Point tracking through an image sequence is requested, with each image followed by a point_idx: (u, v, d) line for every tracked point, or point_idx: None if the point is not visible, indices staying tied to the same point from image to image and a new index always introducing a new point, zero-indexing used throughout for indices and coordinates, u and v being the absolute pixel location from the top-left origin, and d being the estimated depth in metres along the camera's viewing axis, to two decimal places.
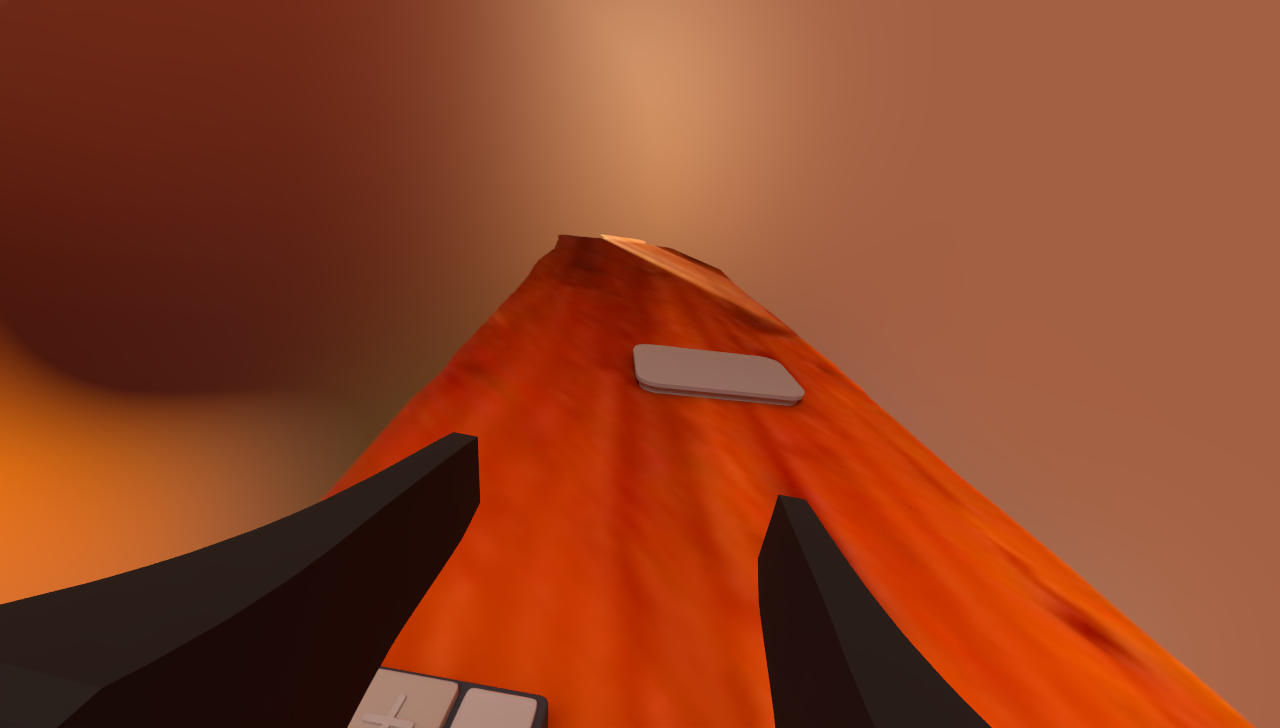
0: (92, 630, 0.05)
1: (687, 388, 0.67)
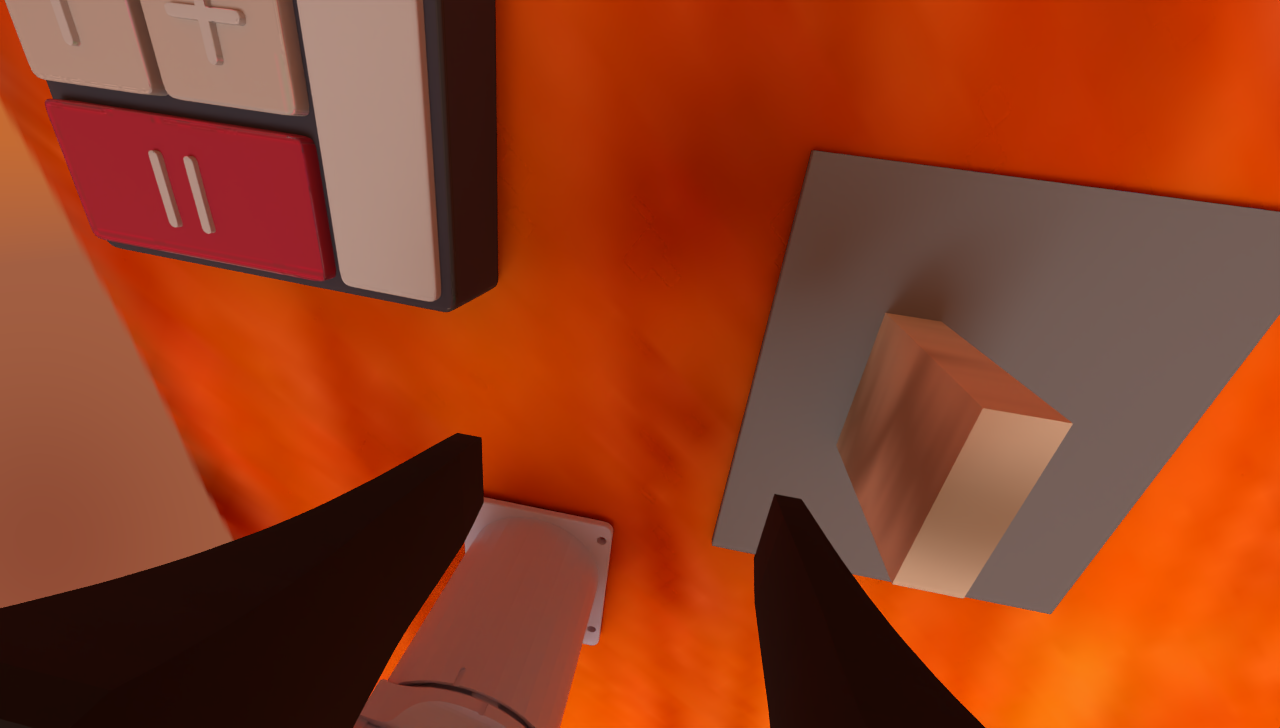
0: (97, 633, 0.05)
1: None
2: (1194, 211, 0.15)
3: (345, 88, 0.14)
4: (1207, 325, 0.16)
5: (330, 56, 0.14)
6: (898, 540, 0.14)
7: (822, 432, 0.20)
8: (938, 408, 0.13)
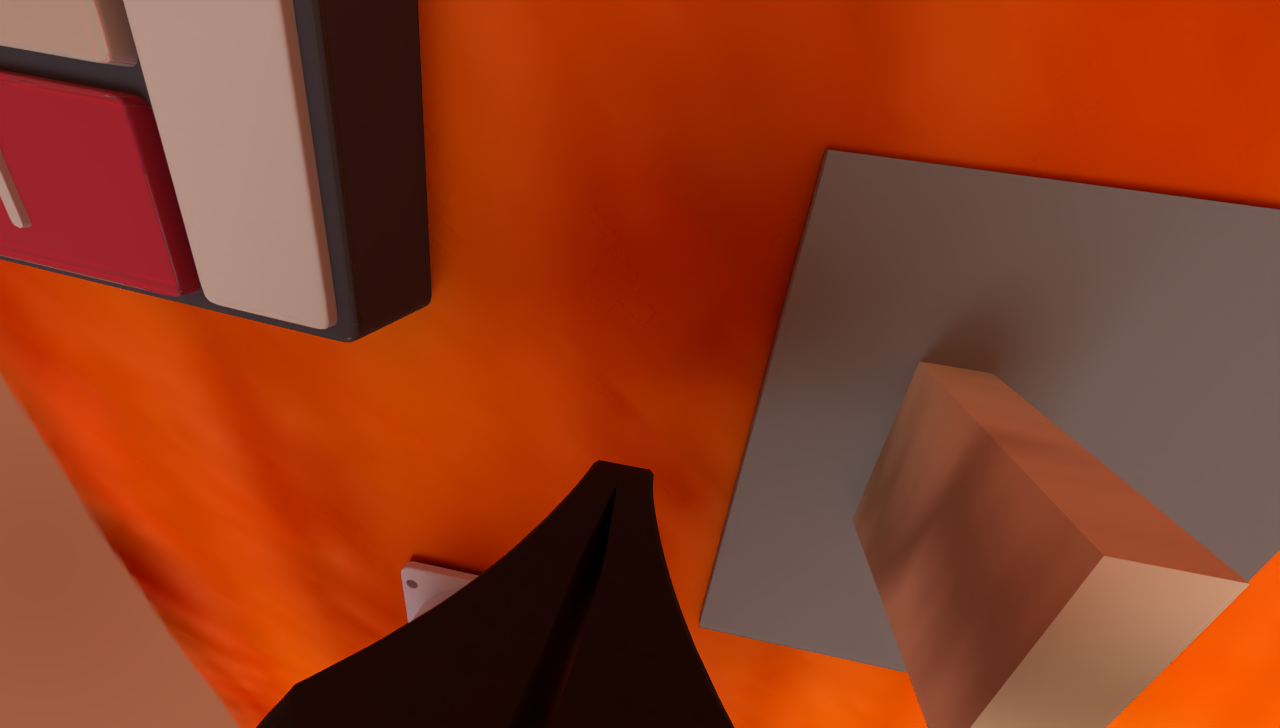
0: (413, 708, 0.04)
1: None
2: None
3: (176, 24, 0.09)
4: None
5: None
6: (950, 701, 0.10)
7: (834, 503, 0.16)
8: (1013, 525, 0.09)
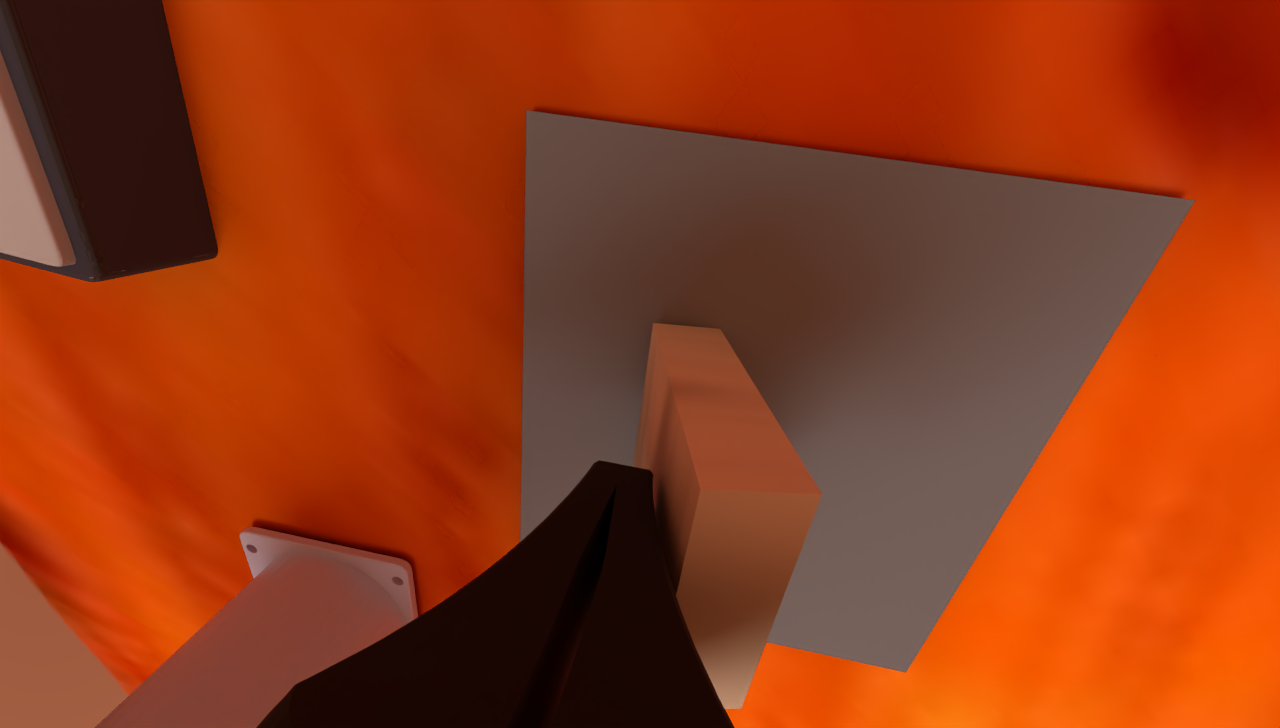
0: (413, 708, 0.04)
1: None
2: (999, 188, 0.11)
3: None
4: (1035, 335, 0.12)
5: None
6: None
7: (611, 461, 0.16)
8: (676, 470, 0.09)
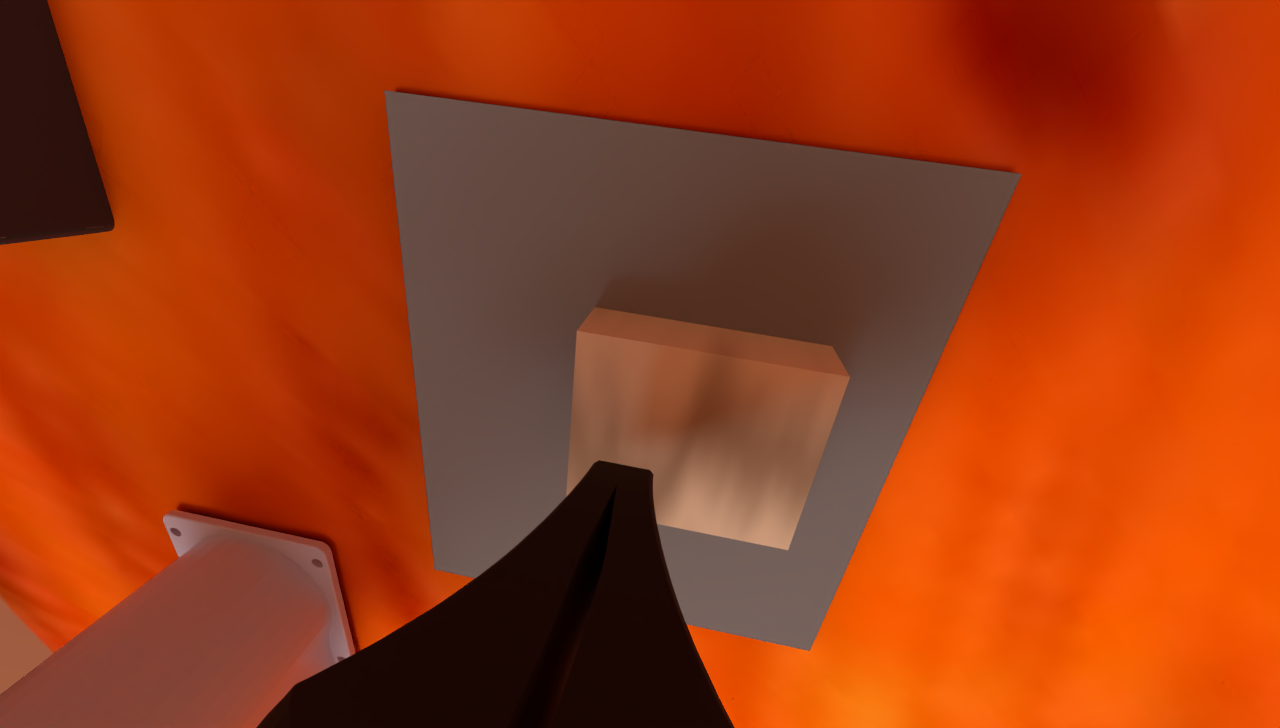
0: (412, 709, 0.04)
1: None
2: (837, 164, 0.11)
3: None
4: (889, 310, 0.13)
5: None
6: (776, 519, 0.14)
7: (506, 440, 0.17)
8: (776, 398, 0.12)
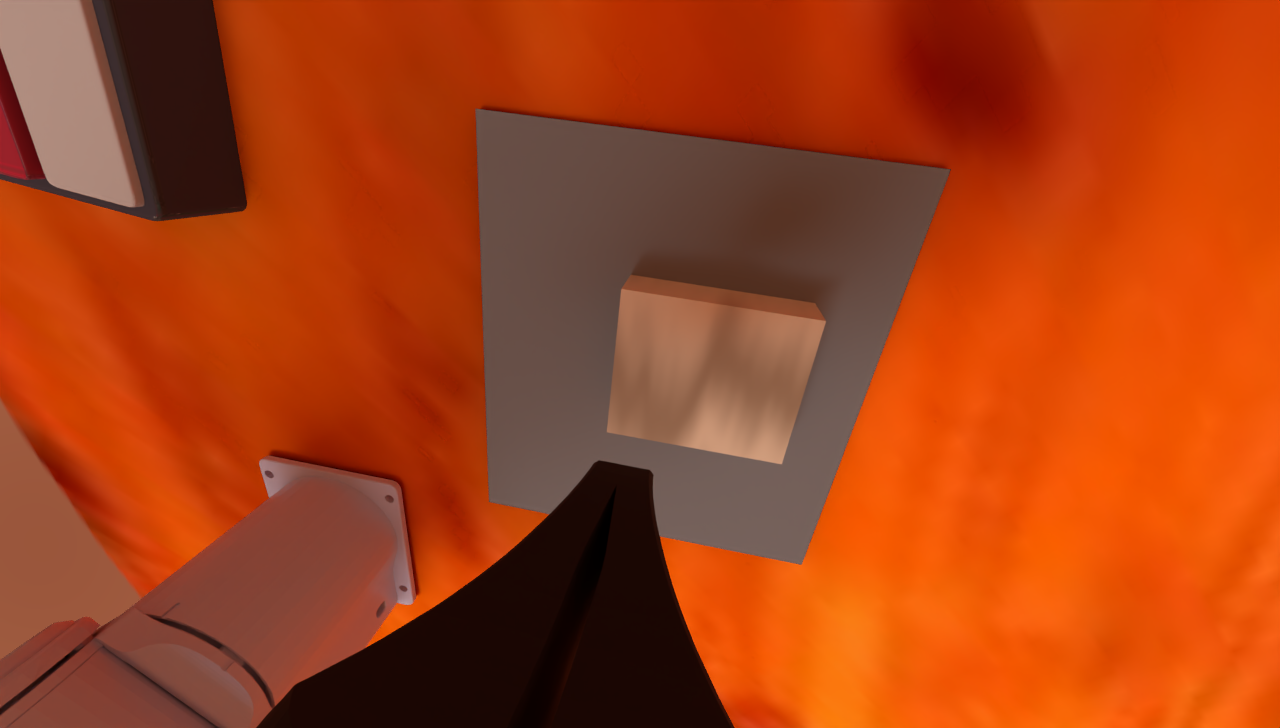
0: (413, 709, 0.04)
1: None
2: (816, 162, 0.15)
3: None
4: (857, 273, 0.17)
5: None
6: (772, 438, 0.18)
7: (555, 386, 0.21)
8: (771, 339, 0.16)
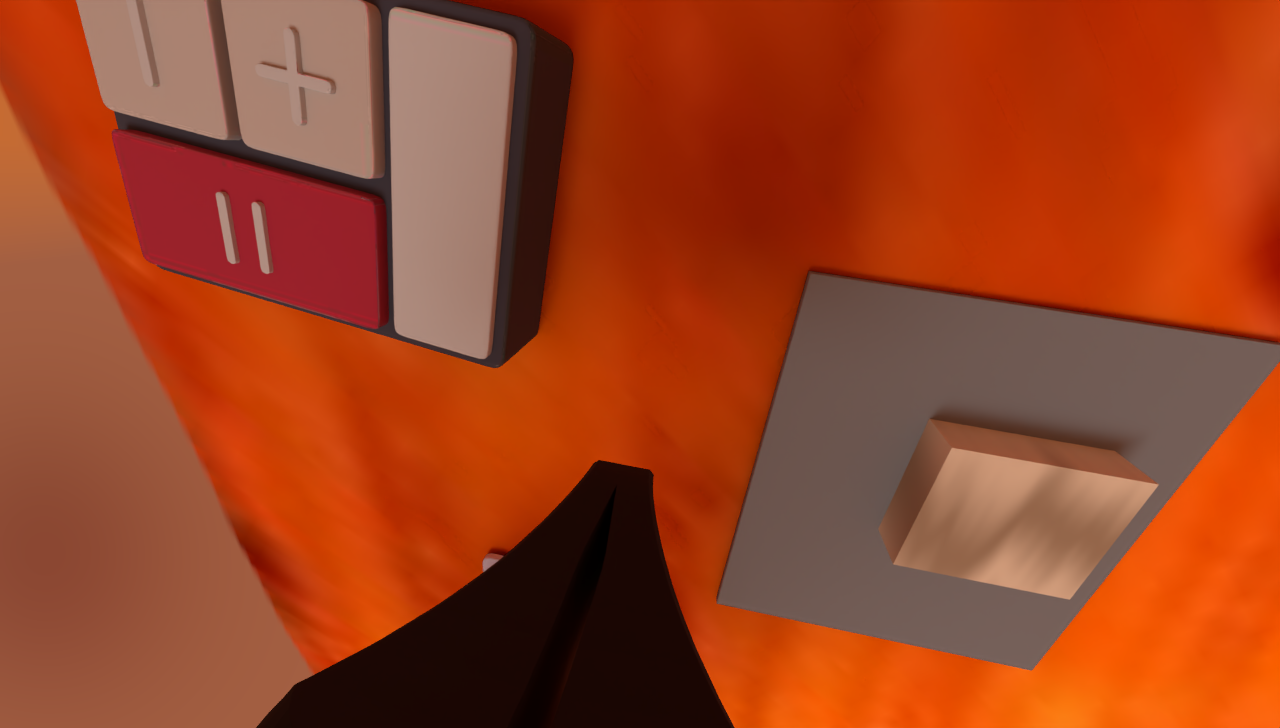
0: (413, 709, 0.04)
1: None
2: (1152, 335, 0.16)
3: (426, 162, 0.14)
4: (1167, 428, 0.17)
5: (415, 131, 0.14)
6: (1067, 577, 0.19)
7: (819, 508, 0.21)
8: (1096, 496, 0.17)
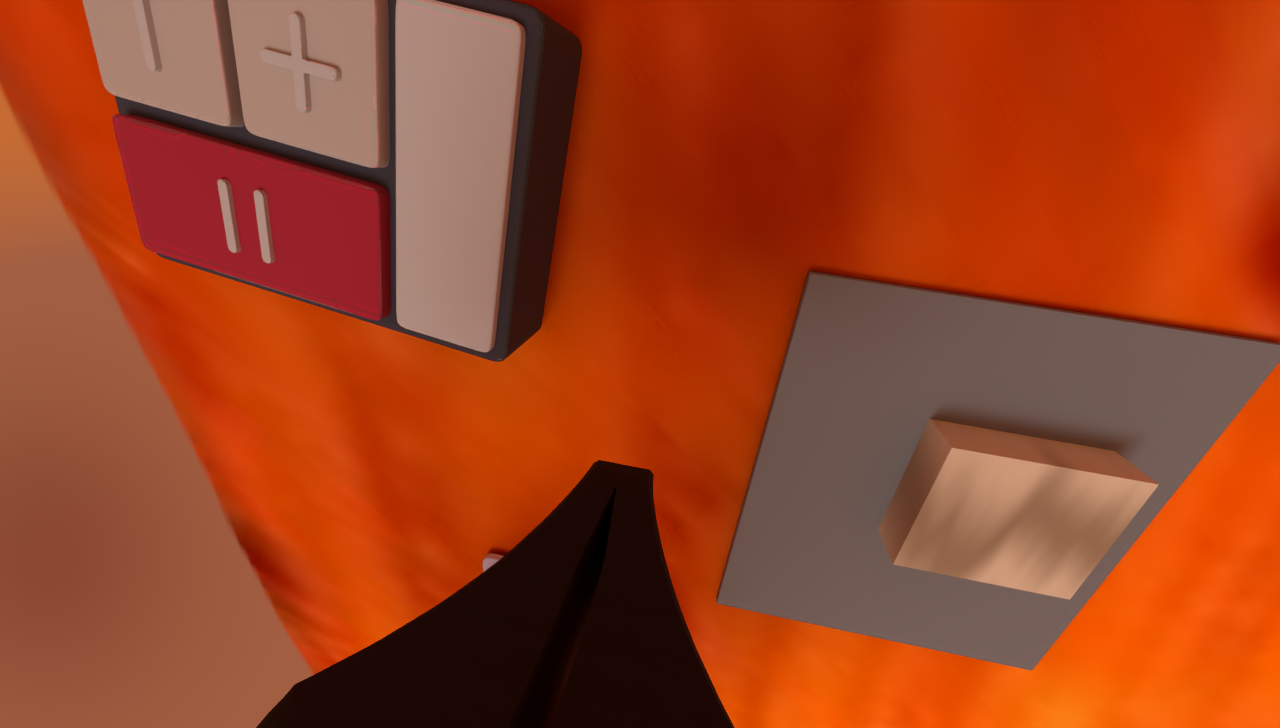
0: (413, 709, 0.04)
1: None
2: (1152, 335, 0.16)
3: (431, 151, 0.14)
4: (1167, 428, 0.17)
5: (420, 120, 0.14)
6: (1067, 577, 0.19)
7: (819, 508, 0.21)
8: (1096, 496, 0.17)
